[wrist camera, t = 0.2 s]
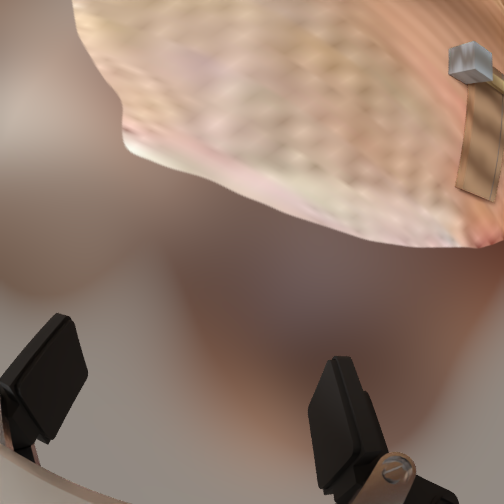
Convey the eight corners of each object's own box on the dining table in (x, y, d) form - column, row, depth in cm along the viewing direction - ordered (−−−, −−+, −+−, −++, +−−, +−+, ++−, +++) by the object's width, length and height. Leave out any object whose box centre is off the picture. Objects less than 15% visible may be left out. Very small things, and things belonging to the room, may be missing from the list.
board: (468, 55, 27) (475, 54, 26) (500, 78, 28) (507, 77, 26) (455, 186, 36) (462, 189, 34) (487, 199, 37) (494, 202, 35)
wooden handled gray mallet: (448, 49, 28) (473, 40, 21) (499, 81, 28) (524, 80, 22) (448, 74, 30) (474, 68, 23) (498, 105, 30) (524, 105, 24)
